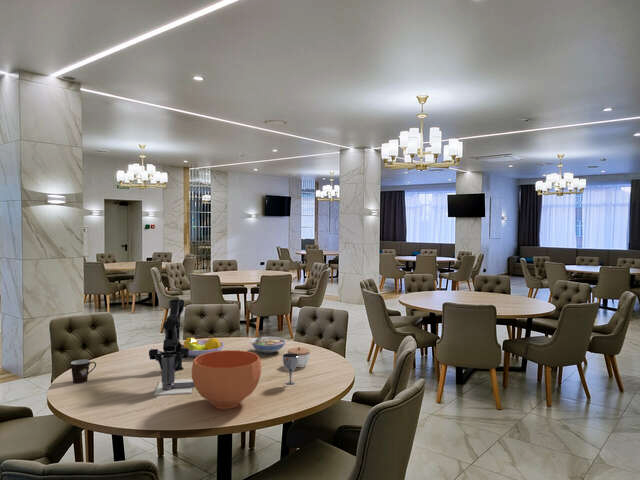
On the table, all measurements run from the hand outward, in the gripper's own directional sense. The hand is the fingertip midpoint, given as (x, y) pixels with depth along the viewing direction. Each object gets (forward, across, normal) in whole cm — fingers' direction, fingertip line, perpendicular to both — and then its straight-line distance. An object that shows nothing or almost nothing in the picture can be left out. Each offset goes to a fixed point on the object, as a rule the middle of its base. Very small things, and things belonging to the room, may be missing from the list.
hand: (167, 369), depth 220 cm
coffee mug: (-8, -44, +23) cm, 50 cm away
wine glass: (+8, +60, +7) cm, 61 cm away
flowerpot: (+23, +28, -8) cm, 37 cm away
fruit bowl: (-37, +13, +53) cm, 66 cm away
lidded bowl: (-14, +69, +29) cm, 76 cm away
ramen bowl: (-37, +54, +52) cm, 84 cm away
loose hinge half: (+5, 0, +4) cm, 7 cm away
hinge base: (+4, +4, +10) cm, 12 cm away
